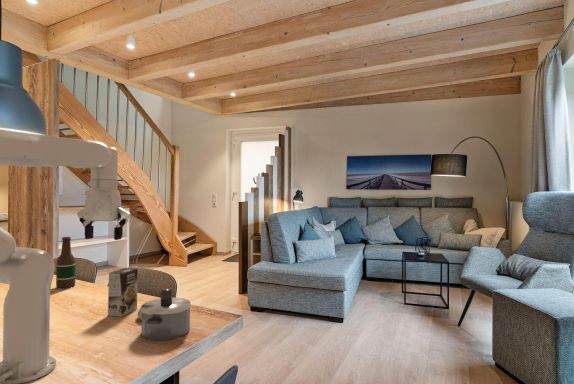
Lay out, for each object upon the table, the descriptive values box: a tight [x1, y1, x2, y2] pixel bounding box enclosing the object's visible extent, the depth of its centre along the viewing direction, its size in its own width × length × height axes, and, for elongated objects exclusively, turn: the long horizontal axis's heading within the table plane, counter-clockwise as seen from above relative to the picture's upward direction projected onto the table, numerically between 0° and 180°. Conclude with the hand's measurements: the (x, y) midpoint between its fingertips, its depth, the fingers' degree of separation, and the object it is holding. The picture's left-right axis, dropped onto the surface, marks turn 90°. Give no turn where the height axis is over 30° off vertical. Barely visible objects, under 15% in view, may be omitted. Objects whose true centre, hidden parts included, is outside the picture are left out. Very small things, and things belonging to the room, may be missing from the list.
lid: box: [140, 287, 191, 315], centre depth 115 cm, size 16×16×7 cm
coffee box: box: [107, 267, 139, 318], centre depth 132 cm, size 9×6×16 cm
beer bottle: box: [55, 236, 76, 289], centre depth 164 cm, size 8×8×24 cm
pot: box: [141, 306, 191, 342], centre depth 115 cm, size 19×15×8 cm
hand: (103, 239), depth 109 cm, fingers open, 9 cm apart
